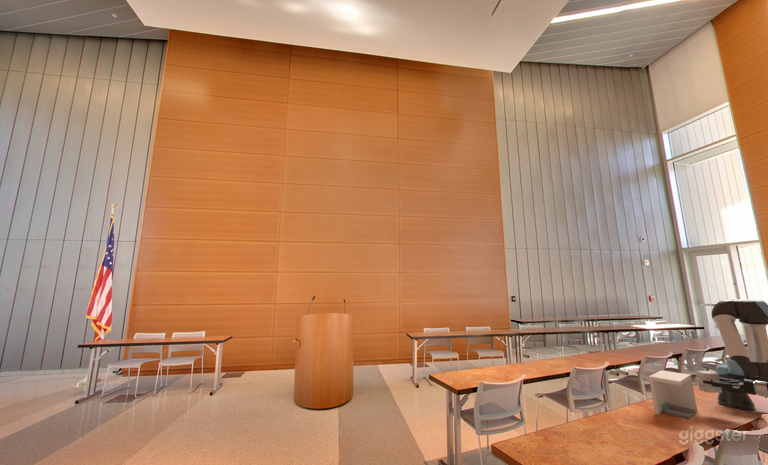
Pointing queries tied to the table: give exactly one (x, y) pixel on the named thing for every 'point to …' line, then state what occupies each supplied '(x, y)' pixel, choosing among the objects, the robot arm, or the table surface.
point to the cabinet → (673, 394)
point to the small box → (708, 376)
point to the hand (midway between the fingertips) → (697, 378)
